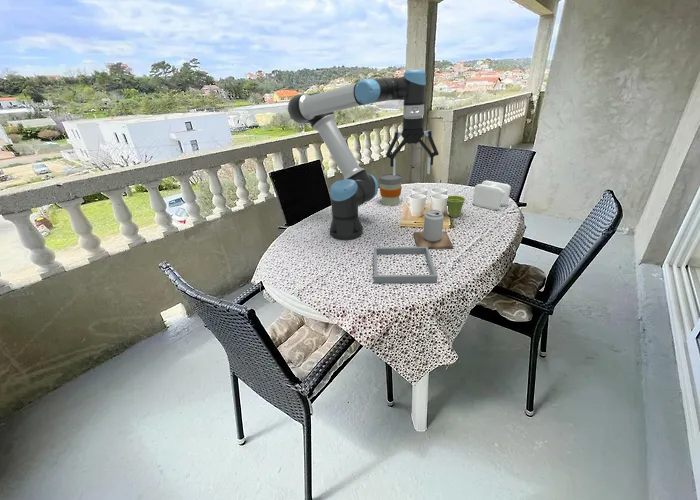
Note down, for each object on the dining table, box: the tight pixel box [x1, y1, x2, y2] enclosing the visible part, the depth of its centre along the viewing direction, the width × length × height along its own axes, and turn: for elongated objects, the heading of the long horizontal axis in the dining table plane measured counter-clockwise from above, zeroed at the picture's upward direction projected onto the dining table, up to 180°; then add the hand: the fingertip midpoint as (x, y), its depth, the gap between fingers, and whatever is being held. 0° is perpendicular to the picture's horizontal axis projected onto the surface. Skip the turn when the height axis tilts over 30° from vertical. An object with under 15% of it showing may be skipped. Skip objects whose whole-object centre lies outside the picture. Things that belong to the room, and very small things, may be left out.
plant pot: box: [446, 195, 466, 218], centre depth 153 cm, size 9×9×9 cm
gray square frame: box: [373, 246, 438, 284], centre depth 114 cm, size 21×21×2 cm
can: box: [422, 209, 445, 242], centre depth 128 cm, size 8×8×12 cm
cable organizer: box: [472, 179, 511, 211], centre depth 161 cm, size 15×11×12 cm
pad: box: [412, 230, 454, 250], centre depth 131 cm, size 14×14×1 cm
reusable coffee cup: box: [378, 173, 403, 207], centre depth 171 cm, size 13×12×15 cm
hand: (411, 174), depth 126 cm, fingers open, 13 cm apart
